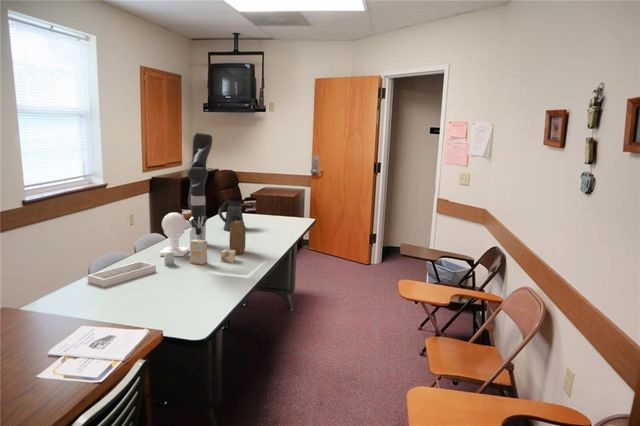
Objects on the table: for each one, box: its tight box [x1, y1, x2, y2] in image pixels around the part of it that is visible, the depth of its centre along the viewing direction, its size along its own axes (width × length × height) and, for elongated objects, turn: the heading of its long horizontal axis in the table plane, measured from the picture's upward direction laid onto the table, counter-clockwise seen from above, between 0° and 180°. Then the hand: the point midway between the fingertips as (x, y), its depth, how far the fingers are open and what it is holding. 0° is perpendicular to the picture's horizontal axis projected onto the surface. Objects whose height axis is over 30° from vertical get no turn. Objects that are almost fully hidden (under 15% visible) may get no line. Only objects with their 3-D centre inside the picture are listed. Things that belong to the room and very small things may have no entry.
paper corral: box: [86, 260, 157, 288], centre depth 204 cm, size 12×29×4 cm, turn 152°
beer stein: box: [217, 198, 246, 233], centre depth 311 cm, size 16×19×25 cm
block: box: [229, 220, 247, 255], centre depth 255 cm, size 11×8×20 cm
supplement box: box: [189, 239, 208, 266], centre depth 230 cm, size 8×5×13 cm, turn 71°
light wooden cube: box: [220, 248, 236, 264], centre depth 238 cm, size 6×6×6 cm
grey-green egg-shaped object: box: [163, 251, 175, 267], centre depth 226 cm, size 5×5×7 cm
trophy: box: [158, 212, 190, 257], centre depth 248 cm, size 14×14×25 cm
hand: (198, 234), depth 229 cm, fingers closed
